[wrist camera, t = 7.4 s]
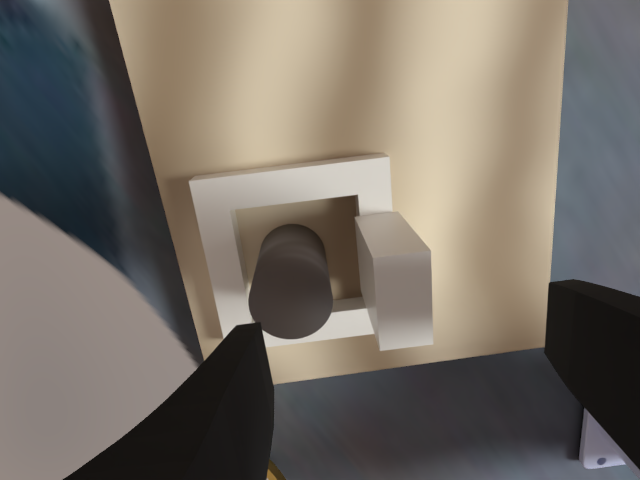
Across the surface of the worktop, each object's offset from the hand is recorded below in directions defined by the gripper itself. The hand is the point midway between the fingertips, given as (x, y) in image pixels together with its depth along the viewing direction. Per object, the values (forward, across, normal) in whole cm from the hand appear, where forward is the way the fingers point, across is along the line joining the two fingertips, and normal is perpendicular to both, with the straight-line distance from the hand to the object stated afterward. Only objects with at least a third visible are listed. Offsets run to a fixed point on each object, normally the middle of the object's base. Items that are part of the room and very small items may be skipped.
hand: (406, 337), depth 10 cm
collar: (+7, +3, 0) cm, 7 cm away
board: (+8, 0, -2) cm, 8 cm away
